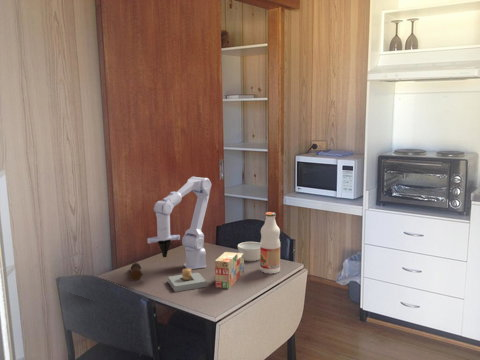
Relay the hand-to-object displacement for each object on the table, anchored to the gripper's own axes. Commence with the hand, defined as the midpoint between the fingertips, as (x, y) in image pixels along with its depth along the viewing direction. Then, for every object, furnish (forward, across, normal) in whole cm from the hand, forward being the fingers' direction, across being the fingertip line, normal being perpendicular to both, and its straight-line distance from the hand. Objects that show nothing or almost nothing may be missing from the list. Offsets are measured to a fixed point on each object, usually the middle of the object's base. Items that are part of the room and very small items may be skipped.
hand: (164, 256), depth 197 cm
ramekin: (+10, -47, -9) cm, 49 cm away
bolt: (+10, +11, -10) cm, 18 cm away
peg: (+10, -7, +12) cm, 17 cm away
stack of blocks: (+10, -26, +14) cm, 32 cm away
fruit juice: (+10, -48, +12) cm, 50 cm away
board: (+10, -7, +12) cm, 17 cm away
